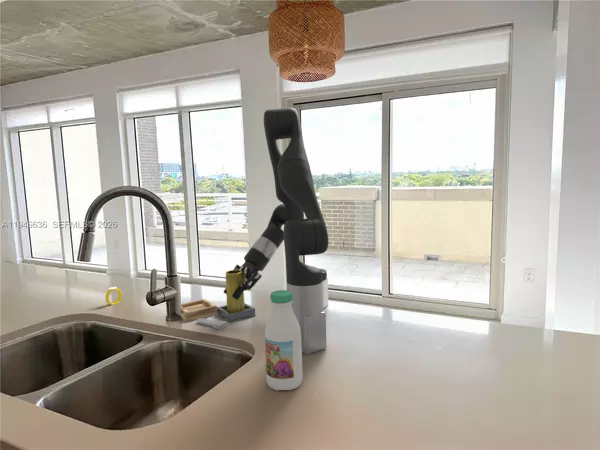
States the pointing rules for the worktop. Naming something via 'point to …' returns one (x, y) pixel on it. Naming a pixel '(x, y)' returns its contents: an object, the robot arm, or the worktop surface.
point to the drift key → (212, 323)
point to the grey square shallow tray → (235, 313)
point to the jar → (325, 288)
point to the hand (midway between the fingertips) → (230, 295)
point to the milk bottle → (283, 344)
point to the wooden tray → (197, 309)
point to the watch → (109, 294)
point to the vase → (231, 285)
